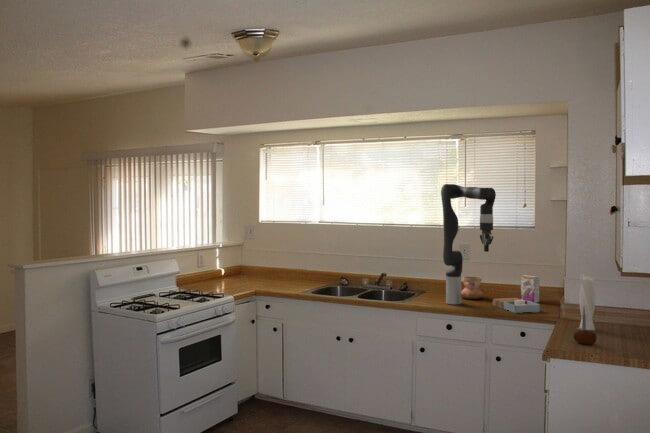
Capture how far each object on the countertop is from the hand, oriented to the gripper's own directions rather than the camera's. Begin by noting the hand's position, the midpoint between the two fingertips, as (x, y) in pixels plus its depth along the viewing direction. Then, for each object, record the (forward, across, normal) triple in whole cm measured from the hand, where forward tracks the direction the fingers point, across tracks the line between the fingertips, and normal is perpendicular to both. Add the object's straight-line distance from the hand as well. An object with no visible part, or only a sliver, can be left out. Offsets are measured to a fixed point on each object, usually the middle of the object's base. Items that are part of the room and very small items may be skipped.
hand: (486, 251), depth 328 cm
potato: (+35, +79, +7) cm, 87 cm away
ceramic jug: (+35, -43, +12) cm, 57 cm away
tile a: (+32, -1, +21) cm, 38 cm away
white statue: (+36, +53, +27) cm, 69 cm away
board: (+35, -10, +21) cm, 42 cm away
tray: (+35, +3, +21) cm, 41 cm away
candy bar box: (+35, -23, +42) cm, 59 cm away
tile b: (+31, +5, +21) cm, 38 cm away
